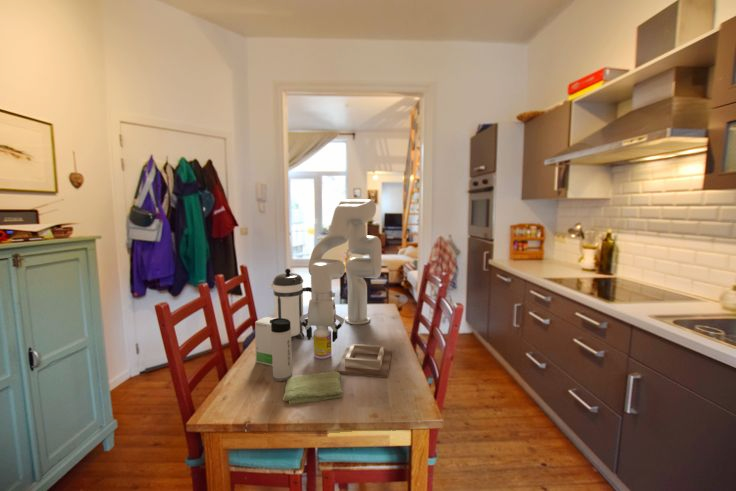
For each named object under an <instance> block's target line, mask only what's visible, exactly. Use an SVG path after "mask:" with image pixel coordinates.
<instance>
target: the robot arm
mask: <svg viewBox="0 0 736 491" xmlns="http://www.w3.org/2000/svg"><path fill="white" fill-rule="evenodd" d="M376 212H377V204H376V203H375V201H374V200H372V199H362V198H361V199H358V198H357V199H356V198H355V199H353V198H351V199H343V200H341V201H339V204H338V205H337V206H336V207H335V209H334V212H333V215H332V219H331V223H330V227H329V230H328V233H327V235H326V236H324V237H323V238H322V239H321V240H320V241H319V242H318V243H317V244H316V245H315V247H314V248H313V250H312V252H311V255H310V258H309V261H308V274H309V275H310V286H311V287H310V288H311V292H310V293H311V296H310V297H311V298H310V299H309V302H308V307H307V309H308V310H307V313H304V314H303V316H301V317H300V318H299V319H300V321H301V323H302V325H303V326H304V330H305V332H306V335H305V336H306V337H307V341H310V340H311V339H312V338H313V328H312V326H313V327H314V326H315V327H316V326H328V327H329V328H331V329H332V331H331V342H334V343H335V342H336V340H337V339H338V333H339V332H338V330H340V328H342V326H343V324H344V322H346V323H347V324H350V325H365V324H368V323H370V322H371V317H370V316H369V315H368V285H367V282H366V280H365V278H366V279H378V278H380V276H381V274H382V241H381V238H379V237H378V236H376V235H367V226H366V224H367V223H369V222H370V220H372V219H373V218H374V217H375V215H376ZM347 242H348V245H347V246H348V251H349V253H350V254H351V255H355V256H356V257H350V258H348V259H347V260H346V262H345V263H344V262H343V261H342V260H340V259H330V258H323V257H324V255H325V254H326V253H327V252H328V251H330V250H332V249H334V248H336V247H339V246H342V245H344V244H346V243H347ZM357 256H368V257H357ZM345 273H346V279H347V315H346V316H345V317H344V318H343V317H341V316H340V315H338V314H337V311H336V302H335V297H336V293H335V292H333V290H332V289H333V288H332V283H333V282H332V280H338V279H341V278H342V277H343V276H344V274H345ZM305 319H308V323H307V322H306V321H305ZM337 321H338V324H337V323H336V322H337Z"/></svg>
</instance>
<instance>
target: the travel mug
mask: <svg viewBox="0 0 736 491" xmlns="http://www.w3.org/2000/svg"><path fill="white" fill-rule="evenodd" d="M270 324H271V338H272V362H273V366H272V379H273V380H274V381H277V382H284V381H287V380H288V379H289V378H291V377H293V359H292V358H293V355H292V354H293V351H292V337H291V327H290V321H289V320H288V319H284V318H276V319H273V320H270Z"/></svg>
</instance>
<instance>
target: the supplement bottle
mask: <svg viewBox="0 0 736 491" xmlns="http://www.w3.org/2000/svg"><path fill="white" fill-rule="evenodd" d="M315 327H316V328H315V329H314V331H313V356H314V357H315V358H316V359H320V360H322V359H323V360H325V359H328V358H330V357H331V355H332V330H331V329H330V327H329V326H315Z"/></svg>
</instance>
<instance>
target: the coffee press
mask: <svg viewBox="0 0 736 491" xmlns="http://www.w3.org/2000/svg"><path fill="white" fill-rule="evenodd" d="M284 272H285V273H281V274H278V275H276V276H275V277H274V278H273V281H272V283H271V284H270V286H269V289H273V296H274V298H273V299H274V300H273V301H274V318H284V319H288V320H289V321H290V327H291V338H292V337H296V336H298V337H299V339H304V338H305V336H306V335H305V333H304V332H303V331H304V330H305V327H304V326H303V325H302V323H301V321H300V319H299V318H300V317H301V316H303V315H304V299H303V298H304V292H310V293H311V287H308V286H306V287H304V286H303V283H304V279H303V277H302V276H301V275H300V274H298V273H292V272H291V269H290V268H286V269H285V270H284ZM305 321H306V322H307V323H308V318H305Z"/></svg>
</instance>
